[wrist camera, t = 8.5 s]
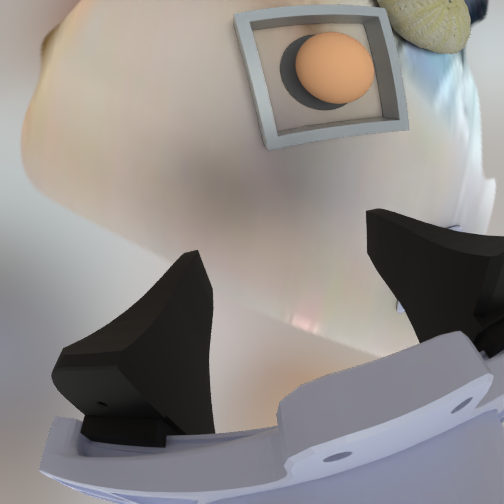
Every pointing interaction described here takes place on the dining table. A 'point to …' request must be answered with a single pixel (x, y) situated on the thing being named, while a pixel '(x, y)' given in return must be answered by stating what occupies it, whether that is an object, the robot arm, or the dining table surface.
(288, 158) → the dining table surface
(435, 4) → the sea urchin shell
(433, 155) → the dining table surface
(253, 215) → the dining table surface
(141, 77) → the dining table surface
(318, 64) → the ball
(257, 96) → the corral
